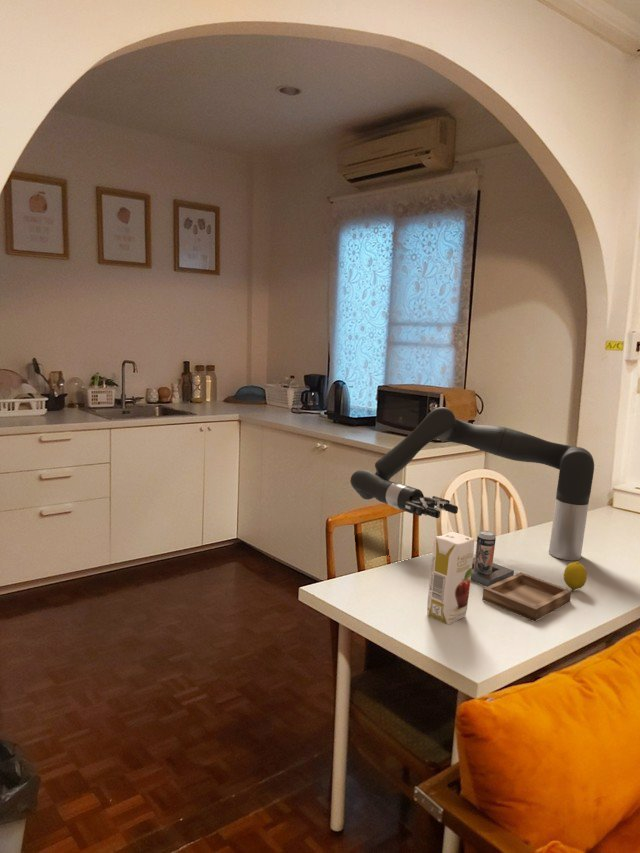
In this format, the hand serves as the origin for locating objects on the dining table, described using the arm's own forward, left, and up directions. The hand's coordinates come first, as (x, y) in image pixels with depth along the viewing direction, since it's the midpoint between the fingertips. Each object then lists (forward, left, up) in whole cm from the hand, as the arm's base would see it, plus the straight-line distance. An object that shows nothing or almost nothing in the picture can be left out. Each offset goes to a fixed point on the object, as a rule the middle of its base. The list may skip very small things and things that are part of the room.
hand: (448, 512), depth 178 cm
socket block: (0, +13, -14) cm, 19 cm away
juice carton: (+29, +22, -14) cm, 39 cm away
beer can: (0, +13, -14) cm, 19 cm away
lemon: (-12, +33, -14) cm, 38 cm away
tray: (+5, +29, -14) cm, 33 cm away
